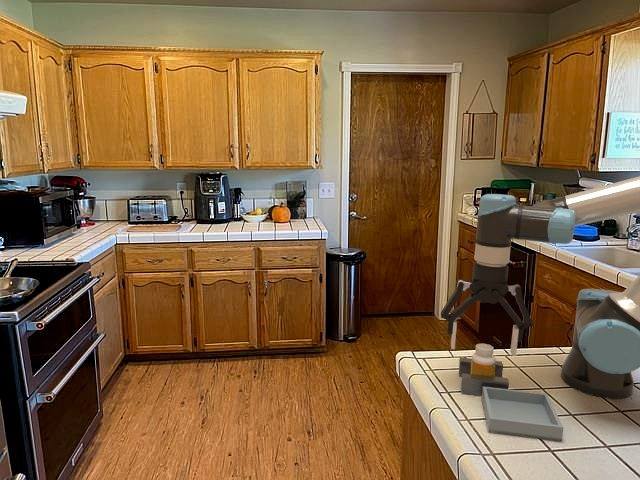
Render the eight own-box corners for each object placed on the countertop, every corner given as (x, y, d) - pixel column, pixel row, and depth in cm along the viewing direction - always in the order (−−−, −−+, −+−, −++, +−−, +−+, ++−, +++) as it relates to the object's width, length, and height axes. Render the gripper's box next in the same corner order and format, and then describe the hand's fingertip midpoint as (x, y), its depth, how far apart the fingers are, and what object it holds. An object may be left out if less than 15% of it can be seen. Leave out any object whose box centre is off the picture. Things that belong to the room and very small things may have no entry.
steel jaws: (500, 376, 119) (501, 361, 118) (507, 399, 108) (509, 382, 107) (458, 372, 121) (459, 357, 120) (461, 394, 110) (462, 377, 109)
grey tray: (545, 406, 105) (547, 393, 105) (561, 441, 92) (563, 427, 92) (481, 398, 108) (482, 386, 108) (488, 432, 95) (489, 418, 95)
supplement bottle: (495, 391, 111) (498, 352, 110) (471, 389, 112) (474, 350, 111) (491, 381, 117) (495, 343, 115) (468, 378, 118) (471, 341, 116)
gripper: (546, 263, 110) (535, 349, 114) (434, 255, 115) (428, 338, 119) (554, 271, 103) (542, 363, 107) (435, 262, 108) (428, 350, 112)
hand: (482, 350), depth 113 cm, fingers open, 13 cm apart
